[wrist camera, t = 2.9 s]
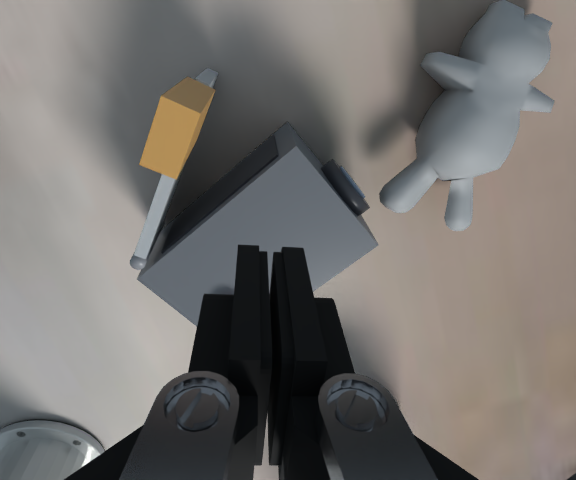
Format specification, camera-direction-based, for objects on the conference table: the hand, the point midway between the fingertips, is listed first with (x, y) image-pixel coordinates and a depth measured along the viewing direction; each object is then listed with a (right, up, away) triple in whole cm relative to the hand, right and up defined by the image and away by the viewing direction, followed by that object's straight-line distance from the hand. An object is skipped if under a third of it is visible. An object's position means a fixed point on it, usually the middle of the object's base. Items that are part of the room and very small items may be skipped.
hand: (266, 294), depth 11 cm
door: (-7, +8, +20) cm, 22 cm away
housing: (-2, +3, +23) cm, 23 cm away
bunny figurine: (+13, +11, +21) cm, 27 cm away
